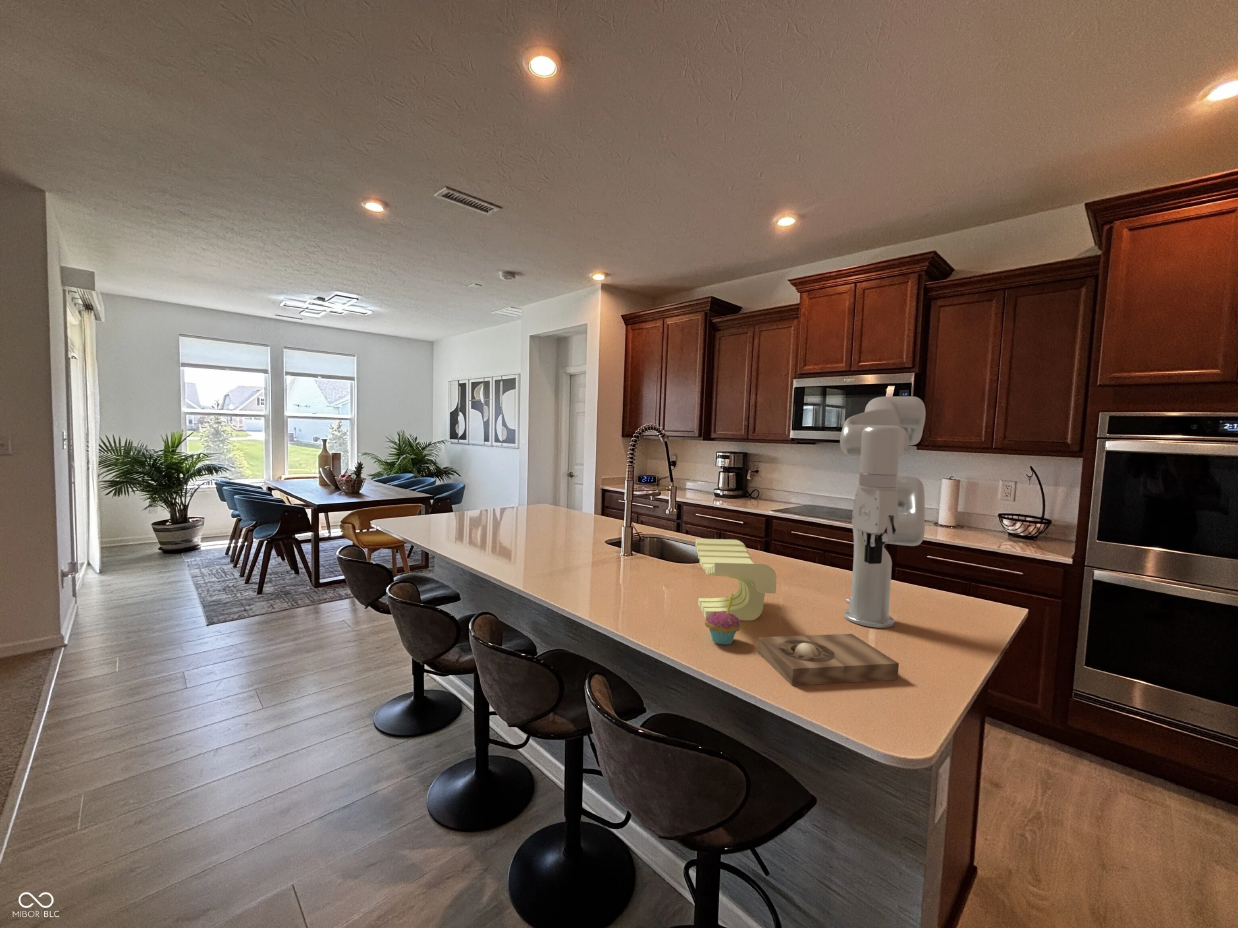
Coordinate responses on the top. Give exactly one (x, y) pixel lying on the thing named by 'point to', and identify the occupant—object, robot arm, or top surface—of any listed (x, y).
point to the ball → (806, 650)
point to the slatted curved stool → (737, 564)
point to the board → (827, 659)
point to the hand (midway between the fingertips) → (872, 562)
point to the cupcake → (723, 625)
